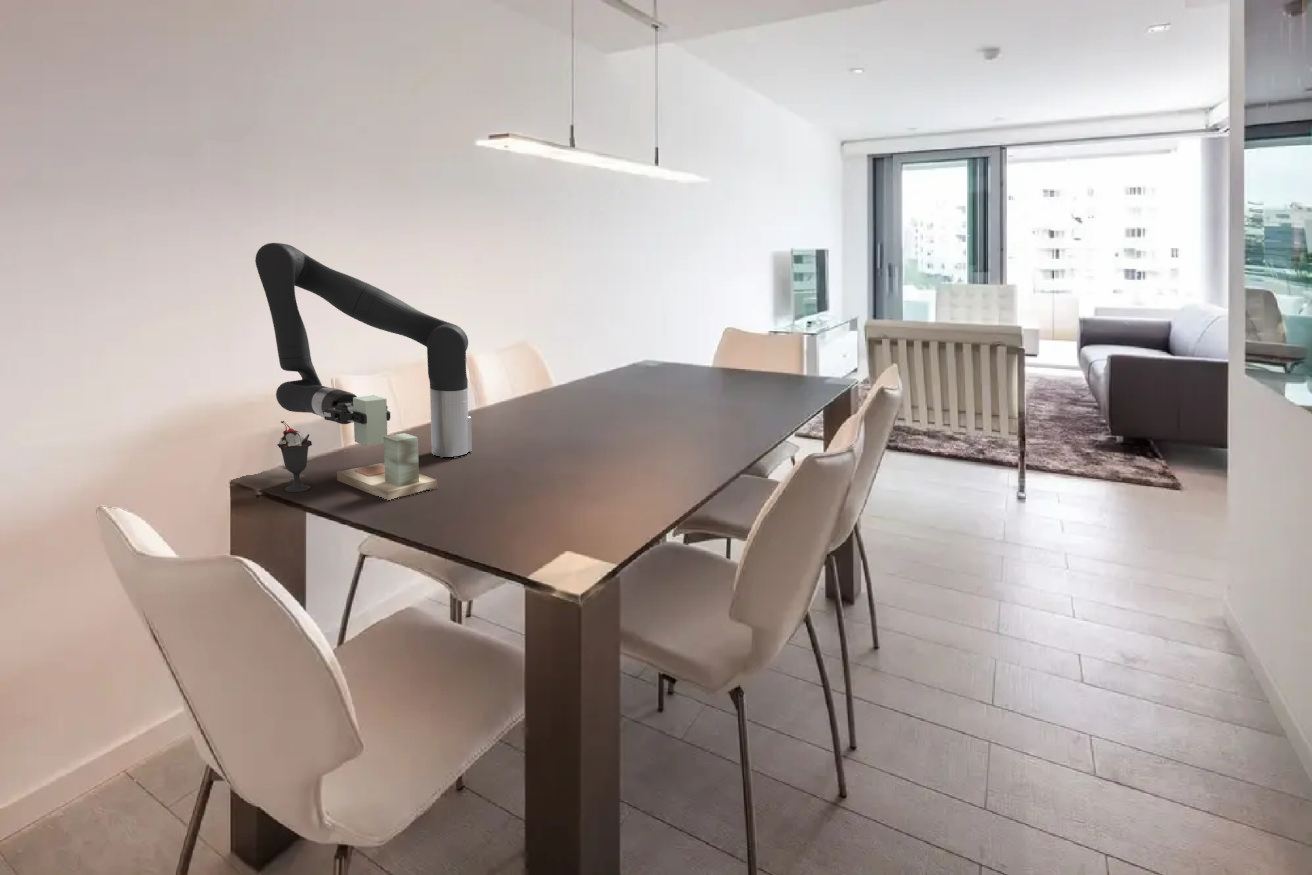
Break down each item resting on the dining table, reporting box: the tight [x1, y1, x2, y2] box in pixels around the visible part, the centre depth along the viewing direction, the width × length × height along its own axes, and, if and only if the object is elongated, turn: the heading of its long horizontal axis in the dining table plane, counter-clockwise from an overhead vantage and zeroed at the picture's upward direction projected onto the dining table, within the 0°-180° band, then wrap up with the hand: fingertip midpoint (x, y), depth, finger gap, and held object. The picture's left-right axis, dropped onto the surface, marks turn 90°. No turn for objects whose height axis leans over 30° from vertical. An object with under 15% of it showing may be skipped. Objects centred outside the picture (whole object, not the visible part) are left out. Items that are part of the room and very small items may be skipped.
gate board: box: [336, 432, 438, 501], centre depth 161 cm, size 12×20×12 cm, turn 52°
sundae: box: [276, 420, 313, 493], centre depth 155 cm, size 7×7×15 cm
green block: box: [353, 394, 388, 447], centre depth 162 cm, size 5×5×10 cm
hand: (377, 417), depth 161 cm, fingers closed on green block, 5 cm apart
